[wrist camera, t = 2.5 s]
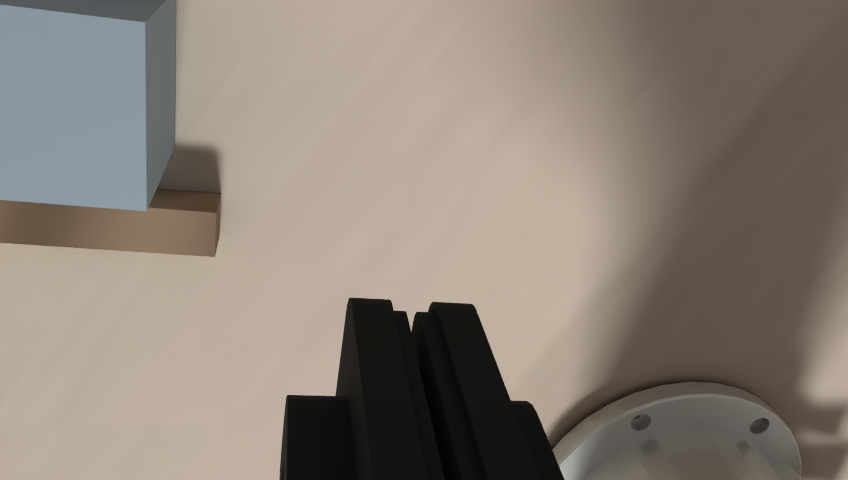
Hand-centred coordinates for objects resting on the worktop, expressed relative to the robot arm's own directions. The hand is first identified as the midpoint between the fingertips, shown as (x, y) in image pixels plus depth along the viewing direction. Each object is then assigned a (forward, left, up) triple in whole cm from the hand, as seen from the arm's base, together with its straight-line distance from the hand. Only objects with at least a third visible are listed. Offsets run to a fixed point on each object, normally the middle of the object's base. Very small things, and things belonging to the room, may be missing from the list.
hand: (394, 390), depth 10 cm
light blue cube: (+8, 0, -16) cm, 18 cm away
